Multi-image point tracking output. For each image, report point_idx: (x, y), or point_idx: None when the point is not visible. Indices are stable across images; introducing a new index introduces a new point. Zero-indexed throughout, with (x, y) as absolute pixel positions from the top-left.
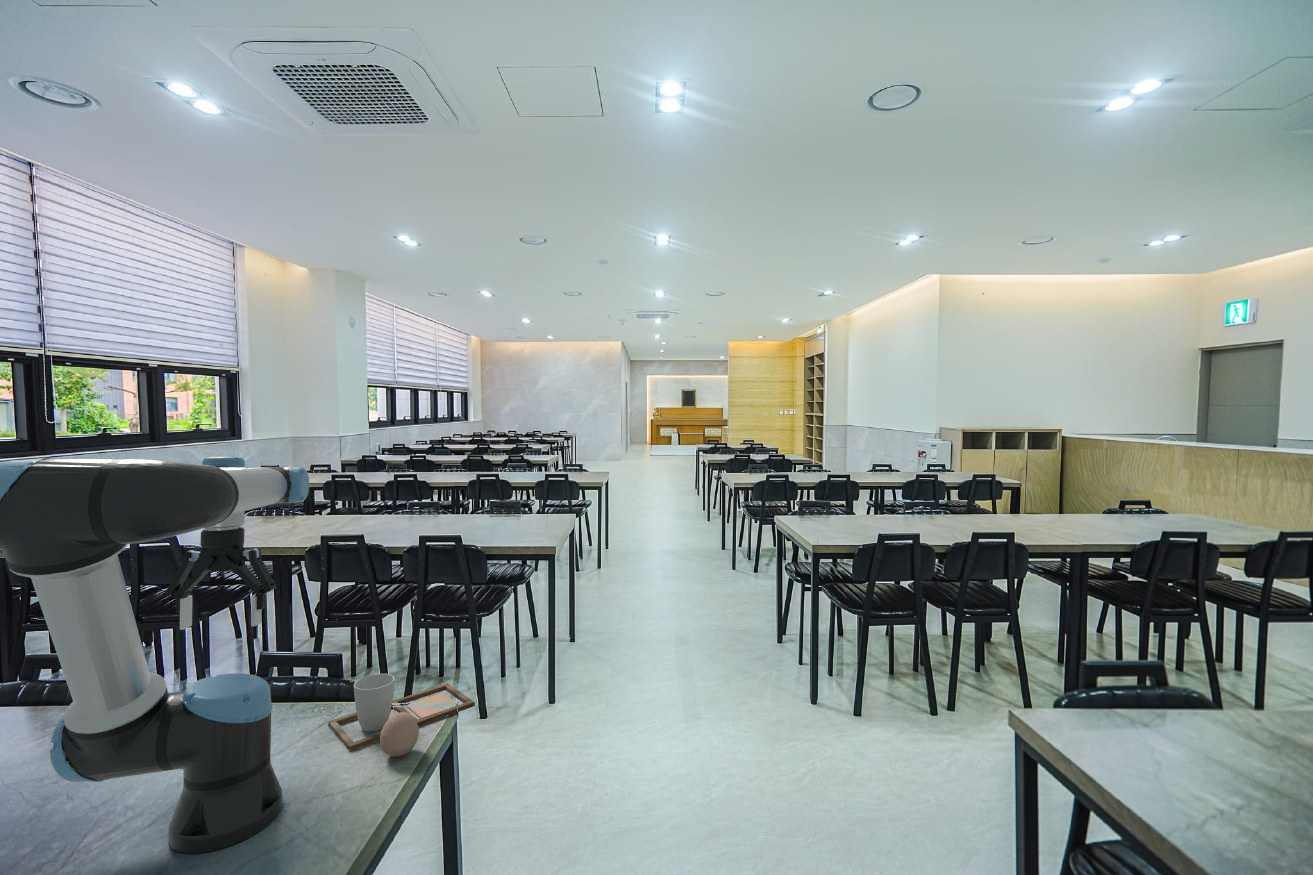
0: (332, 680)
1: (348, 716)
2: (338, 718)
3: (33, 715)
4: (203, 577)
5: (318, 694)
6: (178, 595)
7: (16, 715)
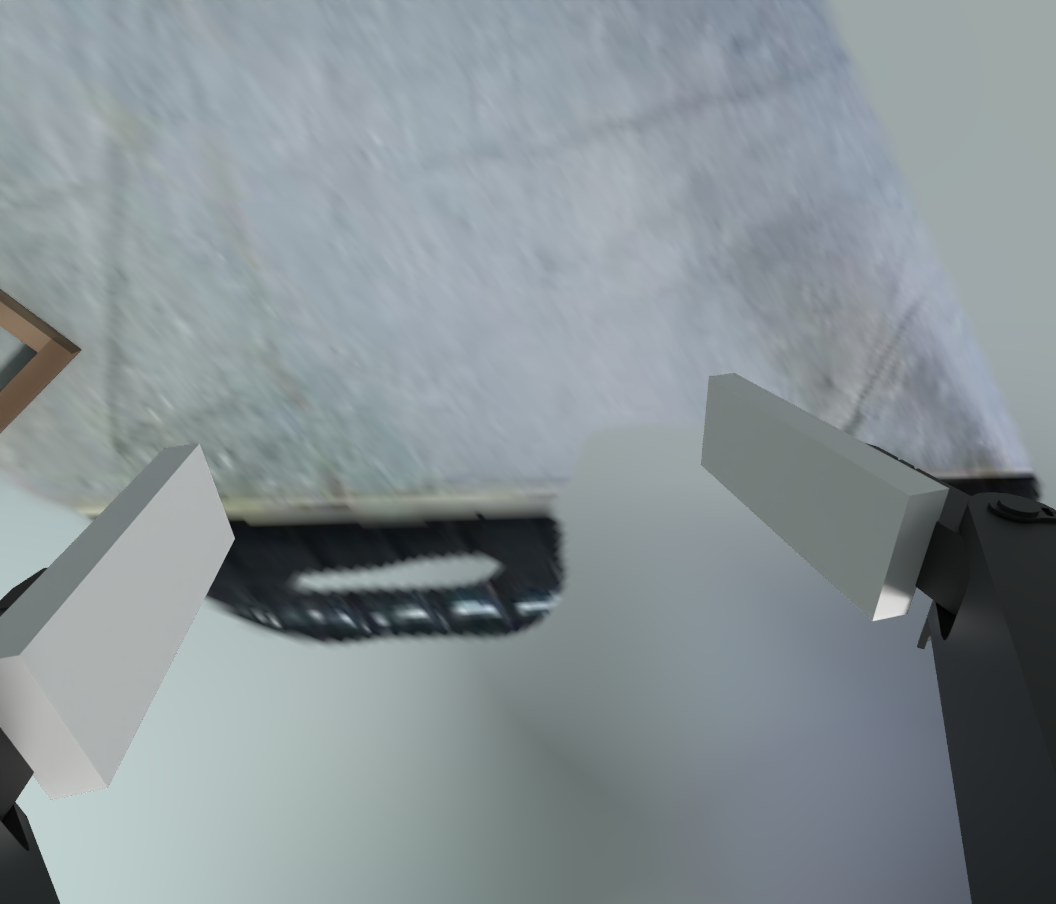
0: (321, 635)
1: (15, 387)
2: (46, 373)
3: (974, 431)
4: (969, 885)
5: (299, 554)
6: (1011, 508)
7: (1007, 431)
